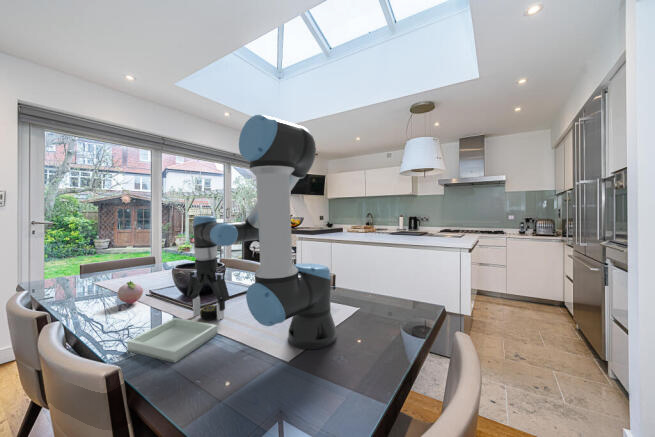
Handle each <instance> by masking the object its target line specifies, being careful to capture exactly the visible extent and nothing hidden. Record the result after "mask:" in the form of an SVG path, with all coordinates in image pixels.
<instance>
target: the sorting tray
mask: <svg viewBox="0 0 655 437" xmlns="http://www.w3.org/2000/svg"><path fill="white" fill-rule="evenodd" d="M218 333H219V332H218V324H213V323H208V322H202V321H196V320H191V319H186V318H185V319H184V318H179V317H173V318H171V319H169V320H167V321H166V322H163V323H161V324H159V325H157V326H155V327H153V328H150V329H149V330H147V331H145V332H143V333H141V334H139V335H137V336H135V337H132V338H131V339H128V340H127V341H126V343H127V346H126V347H127V352H129V353H134V354H136V355H137V354H138V355H142V356H146V357H150V358H154V359H158V360H162V361H165V362H170V363H174V364H176V363H177V362H179V361H180V360H181V359H183V358H185V357H186V356H187V355H189V354H191V353H192V352H194V351H195V350H196V349H198V348H199V347H201V346H203V344H205V343H207V342H209V341H210V340H211V339H213V338H214V337H216V336H217V335H218Z"/></svg>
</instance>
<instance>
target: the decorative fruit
mask: <svg viewBox="0 0 655 437" xmlns="http://www.w3.org/2000/svg"><path fill="white" fill-rule="evenodd" d="M143 294H144V289H143V287H142V285H140V284H138V283H135V282H134V281H131V280H129V281H127V282H126V283H125V284H123V285H121V286H120V287H119V289H118V290H117V297H118V299H119V301H120V302H123V303H126V304H131V305H133V304H135V303H137V301H139V300H140V299H141V297H142V296H143Z"/></svg>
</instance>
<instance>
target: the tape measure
mask: <svg viewBox="0 0 655 437" xmlns="http://www.w3.org/2000/svg"><path fill="white" fill-rule="evenodd" d="M199 316H200V318H201V319H202V320H205V321H206V320H207V321H208V320H214V319H217V304H216V305H213V304H212V305H211V304H210V305H209V304H208V305H205V306H203V307H202V308H200V314H199Z"/></svg>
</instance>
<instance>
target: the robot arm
mask: <svg viewBox="0 0 655 437" xmlns="http://www.w3.org/2000/svg"><path fill="white" fill-rule="evenodd" d="M316 146H317V144H316V141H315V139H314V136H313V135H312V133H311V132H310V131H309V130H308V129H307V128H306V127H304V126H302V125H299V124H295V123H292V122H289V121H285V120H281V119H279V118H275V117H273V116H271V115H269V116H268V115H265V114H255V115H253V116H251V117H250V118H248V119H247V121H245V123H244V125H243V127H242V129H241V132H240V134H239V138H238V150H239V153H240V155H241V157H242V158H243V159H244V160H245V161H247V162H249V171H250V172H251V173H252V174H253V175H254V176H255V178H256V179H255V180H256V196H257V197H256V203H255V205H254V206H253V208H252V209H251V211H250V213H249V214H248V216H247V217H246V218H245V219H244V220H240V221H239V220H238V221H227V222H217V218H216V216H214V215H198V216H195V217H193V222H192V223H193V226H192V228H193V244H194V247H193V248H194V268H195V270H193V271H189V282H188V286H187V293H186V296H187V297H189V298H190V299H191V307H192V312H193V317H197V316H200V311H201V296H200V293H201V290H202V288H203V286H204V284H207V285H208V286H209V287H210V288H211V290H212V292H213V293H214V296H215V299H216V300H217V302H216V305H217V318H216V321H221V320H222V319H224V318H225V311H224V310H225V309H226V302H227V301H228V300H230V295H229V294H230V293H229V291H228V287H227V284H226V281H225V273H224V272H221V273H219V272H218V270H217V268H218V266H219V265H218V264H219V263H218V257H217V256H218V246H220V247H224V246H225V247H228V246H232V245H233V244H236V243H242V242H249V241H258V245H259V246H258V248H259V268H258V269H257V270H256V271H255V272H254V282H253V283H252V284H250V285H249V286H248V287H247V290H246V294H245V299H246V304H247V307H248V310H249V312H250V314H251V316H252V317H253V318H254V319H255V321H257V323H258V324H260V325H262V326H265V327H272V326H275V325H277V324H282V323H284V322H285V321H287V320H288V319H291V321H290V324H289V328H288V341H289V343H290V344H292V346H294V347H296V348H298V349H303V350H317V349H323V348H326V347H328V346H330V345H331V344H333V343H334V342H335V341H336V339H337V327H336V324H335V321H334V319H333V316H332V312H331V311H332V310H331V280H332V278H331V271H330V268H329V267H328V266H327V265H324V264H319V263H309V262H304V263H294V264H293V243H292V220H291V219H292V217H291V216H292V214H291V196H290V195H291V191H293V189H294V187H295V186H296V184H297V183H298V182H299V180H300V179H304V178H305V177H306V176H307V174H308V173H309V171H310V170H311V168H312V167H313V164H314V162H315V159H316V154H317V147H316ZM220 319H221V320H220Z"/></svg>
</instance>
